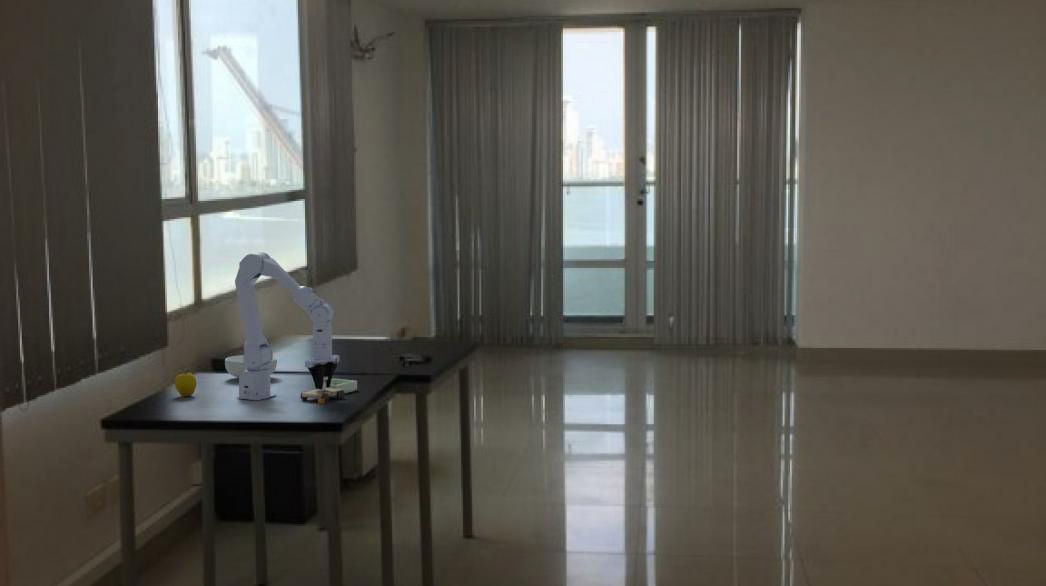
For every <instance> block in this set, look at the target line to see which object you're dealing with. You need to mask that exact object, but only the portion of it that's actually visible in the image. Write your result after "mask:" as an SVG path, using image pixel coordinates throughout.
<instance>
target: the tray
mask: <svg viewBox="0 0 1046 586" xmlns="http://www.w3.org/2000/svg"><path fill="white" fill-rule="evenodd" d="M326 388H327V387H326ZM329 388H334V389H343V391H344V393H345V394H347V393H348V394H349V393H350V392H351V393H352V392H355V390H356V391H358V380H351V379H343V378H341V379H340V378H332V380H331V384H330V387H329ZM312 390H316V388H315V384H314V382H313V383H312Z"/></svg>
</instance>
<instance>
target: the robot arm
mask: <svg viewBox="0 0 1046 586" xmlns="http://www.w3.org/2000/svg"><path fill="white" fill-rule="evenodd" d="M238 266H239V268H238V270H237V274H236V277H235V279H234V285H235V290H236V291H235V292H236V296H237V301H238V304H239V305H238V306H239V310H240V316H241V320H242V326H243V330H244V335H245V336H244V337H245V341H244V343H243V349H244V350H243V352H244V353H243V355H244V356H243V361H244V363H245V365H246V370H245V371H244V372H242V373H241V374H240V376H239V378H238V396H236V399H241V400H252V401H260V400H264V399H269V398H274V397H277V396H278V395H277V394H276V393H271V375H270V365H269V363H270V362H271V360H272V358H273V357H274V355H273V350H272V348H271V347H270V346H269V342H268V339H267V338H266V337H265V336H264V333H263V332H264V331H263V328H262V322H261V317H260V311H259V306H258V302H257V297H256V296H257V295H256V292H255V287H254V285H255V284H256V282H258V280H259V278H260V277H261V276H264V277H270V278H273V279H274V280H275V281H277V283H279V284H280V285H281V286H283V288H285V289H286V290H287V291H288V292H290V293H291V294H292V300H293V301H294V302H295V303H296V304H297V305H298V306H299V307H300V308H301V309H302V310H303V311H304V312H306V314H308V315H309V318H310V320H311V321H312V358H309V359H307V360H305V361H304V367H305V368H307V369H308V371H309V373H310V375H311V377H312V380H313V383H314V384H315V388H316V389H322V388H323V378H324V376H328V380H326V387H327V388H329V387H330V384H331V380H332V379H333V375H334V373H335V371H336V369H337V368H338V364H337V363H339V362H340V354H339V355H338V354H333V328H332V327H333V326H332V325H333V324H332V322H333V321H332V319H333V317H334V315H335V311H334V308H333V306H332V305H331V304H330V303H329V302H325V300H324V299H323V298H320V297H318V295H317V294H315V293H314V292H313V291H314V289H313V288H312V287H307V285H303V286H301V285H300V284H299V283H298V282H297V281H296V280H295V279H294V278H293V277H292V276H291V275H290V274H289V273H288V272H287V271H286V270H285V269H284V268H283V267H282V266H281V265H280V264H279V263H278V262H277V261H276V260H275V259H274V258H272V257H270V255H269V254H268V253H266V252H257V253H248V254H246V255H244V256H243V258H242V259H241V261H239V263H238Z"/></svg>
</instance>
